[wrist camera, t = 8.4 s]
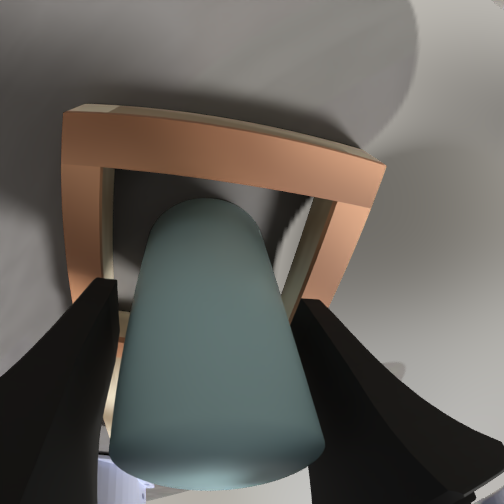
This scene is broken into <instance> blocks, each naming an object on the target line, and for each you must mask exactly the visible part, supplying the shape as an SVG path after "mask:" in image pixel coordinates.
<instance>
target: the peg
mask: <svg viewBox="0 0 504 504" xmlns="http://www.w3.org/2000/svg"><path fill="white" fill-rule="evenodd" d="M324 448H325V440H324V437H323V434H322V430H321V427H320V423H319V420H318V417H317V413H316V410H315V406H314V403H313V400H312V396H311V393H310V390H309V386H308V383H307V380H306V376H305V373H304V370H303V366H302V363H301V360H300V357H299V353H298V350H297V347H296V343H295V340H294V337H293V334H292V330H291V327H290V324H289V321H288V317H287V314H286V311H285V308H284V305H283V301H282V298H281V295H280V292H279V289H278V285H277V282H276V279H275V276H274V272H273V269H272V266H271V263H270V260H269V257H268V253H267V250H266V247H265V244H264V241H263V238H262V235H261V232H260V229H259V227H258V226H257V224H256V222H255V221H254V220H253V218H252V217H251V216H250V215H249V214H248V213H247V212H245V211H244V210H243V209H241V208H240V207H238V206H236V205H234V204H232V203H230V202H227V201H224V200H219V199H213V198H198V199H191V200H188V201H184V202H182V203H179V204H177V205H175V206H173V207H172V208H170V209H168V210H167V211H166V212H165V213H163V214H162V215H161V216H160V217H159V218H158V220H157V221H156V223H155V224H154V226H153V227H152V229H151V232H150V235H149V238H148V241H147V245H146V249H145V253H144V256H143V260H142V264H141V268H140V272H139V277H138V281H137V285H136V289H135V294H134V298H133V303H132V307H131V312H130V316H129V321H128V326H127V331H126V336H125V342H124V347H123V352H122V358H121V364H120V370H119V376H118V382H117V389H116V396H115V403H114V410H113V418H112V427H111V436H110V445H109V456H110V458H111V460H112V462H113V463H114V464H115V465H116V466H117V467H118V468H120V469H121V470H123V471H124V472H126V473H127V474H129V475H131V476H134V477H136V478H138V479H141V480H143V481H147V482H150V483H153V484H157V485H161V486H166V487H171V488H178V489H187V490H229V489H239V488H246V487H252V486H256V485H261V484H265V483H269V482H272V481H276V480H279V479H282V478H285V477H287V476H289V475H292V474H294V473H296V472H298V471H300V470H302V469H304V468H306V467H307V466H309V465H310V464H312V463H313V462H314V461H316V460H317V459H318V458H319V457H320V456H321V454H322V453H323V451H324Z"/></svg>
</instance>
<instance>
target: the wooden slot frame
mask: <svg viewBox="0 0 504 504" xmlns="http://www.w3.org/2000/svg"><path fill="white" fill-rule="evenodd" d="M115 168H117V169H127V170H137V171H146V172H155V173H164V174H172V175H180V176H188V177H195V178H203V179H210V180H217V181H224V182H230V183H237V184H243V185H250V186H256V187H262V188H268V189H274V190H279V191H285V192H291V193H296V194H302V195H307V196H312V197H314V199H313V202H312V205H311V208H310V211H309V214H308V218H307V221H306V224H305V227H304V230H303V233H302V236H301V239H300V242H299V245H298V248H297V251H296V253H295V256H294V259H293V262H292V265H291V268H290V271H289V274H288V277H287V280H286V283H285V285H284V288H283V291H282V294H281V298H282V301H283V305H284V308H285V311H286V314H287V317H288V321H289V324H291V322H292V319H293V317H294V314H295V312H296V309H297V307H298V304H299V302H300V299H301V298H306V299H319V300H321V301H322V302H323V303H324V304H325V305H326V306H327V307H329V305H330V303H331V301H332V299H333V296H334V294H335V292H336V290H337V288H338V286H339V283H340V281H341V279H342V277H343V274H344V272H345V270H346V267H347V265H348V263H349V260H350V258H351V256H352V254H353V251H354V249H355V247H356V244H357V242H358V239H359V237H360V235H361V232H362V230H363V227H364V225H365V222H366V220H367V217H368V214H369V212H370V210H371V207H372V204H373V202H374V199H375V196H376V194H377V191H378V189H379V186H380V183H381V180H382V178H383V175H384V172H385V169H386V165H384V164H383V163H382V162H380V161H378V160H377V159H376V158H374V157H372V156H371V155H370V154H368V153H367V152H365V151H364V150H362V149H358V148H355V147H351V146H348V145H344V144H341V143H337V142H333V141H330V140H326V139H322V138H318V137H314V136H310V135H306V134H302V133H298V132H293V131H289V130H285V129H280V128H275V127H271V126H266V125H261V124H256V123H251V122H245V121H240V120H234V119H229V118H223V117H216V116H210V115H203V114H196V113H189V112H182V111H173V110H165V109H155V108H145V107H134V106H120V105H103V104H83V105H81V106H78V107H76V108H73V109H71V110H68V111H66V112H63V123H62V145H61V193H62V215H63V230H64V241H65V252H66V261H67V269H68V276H69V283H70V290H71V296H72V303H74V302H75V301H76V299H77V298H78V297H79V296H80V295H81V294H82V292H83V291H84V290H85V289H86V288H87V287H88V285H89V284H90V283H91V282H92V281H93V280H94V279H95V278H96V277H99V278H107V279H114V277H113V194H114V174H115ZM129 316H130V312H124V311H119V324H120V334H119V341H118V349H117V355H116V362H115V366H114V370H113V375H112V379H111V383H110V387H109V392H108V396H107V400H106V405H105V409H104V414H103V419H104V422H105V425H106V428H107V431H108V434H109V437H110V436H111V427H112V418H113V410H114V403H115V396H116V389H117V382H118V376H119V370H120V364H121V358H122V352H123V347H124V342H125V336H126V331H127V326H128V321H129Z"/></svg>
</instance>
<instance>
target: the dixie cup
mask: <svg viewBox="0 0 504 504" xmlns="http://www.w3.org/2000/svg"><path fill="white" fill-rule="evenodd" d="M492 1H493V2H494V3H496V4H497V5H498V6H499V7H500V8H502V9H503V10H504V0H492Z"/></svg>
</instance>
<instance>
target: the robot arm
mask: <svg viewBox="0 0 504 504" xmlns="http://www.w3.org/2000/svg"><path fill="white" fill-rule="evenodd" d="M290 327H291V330H292V334H293V337H294V340H295V343H296V347H297V350H298V353H299V357H300V360H301V363H302V366H303V370H304V373H305V376H306V380H307V383H308V386H309V390H310V393H311V396H312V400H313V403H314V406H315V410H316V413H317V417H318V420H319V423H320V427H321V430H322V434H323V437H324V440H325V448H324V451H323V453H322V454H321V456H320V457H319V458H318V459H317V460H316V461H314V462H313V463H312V464H310V465H309V466H308V468H309V476H310V485H311V495H312V504H471V502H473V501H474V500H475V499H476V495H475V493H474V491H476V490H477V489H479V488H480V487H482V486H484V485H485V484H487V483H488V482H490V481H491V480H493V479H494V478H496V477H497V476H499V475H500V474H502V473H503V472H504V445H503V444H502V442H501V441H498V440H496V439H494V438H491V437H489V436H487V435H484V434H482V433H480V432H477V431H475V430H473V429H471V428H469V427H467V426H466V425H464V424H462V423H460V422H458V421H456V420H455V419H453V418H451V417H450V416H448V415H446V414H445V413H443V412H442V411H440V410H439V409H437V408H436V407H434V406H432V405H431V404H430V403H428V402H427V401H425V400H424V399H423V398H421V397H420V396H419V395H417V394H416V393H415V392H414V391H412V390H411V389H410V388H409V387H407V386H406V385H405V384H404V383H402V382H401V381H400V380H399V379H398V378H397V377H395V376H394V375H393V374H392V373H391V372H390V371H389V370H388V369H387V368H386V367H385V366H384V365H383V364H381V363H380V362H379V361H378V360H377V359H376V358H375V357H374V356H373V355H372V354H371V353H370V352H369V351H368V350H367V349H366V348H365V347H364V346H363V345H362V344H361V343H360V342H359V340H358V339H357V338H356V337H355V336H354V335H353V334H352V333H351V332H350V331H349V330H348V329H347V328H346V327H345V326H344V324H343V323H342V322H341V321H340V320H339V319H338V318H337V317H336V316H335V315H334V314H333V313H332V312H331V311H330V310H329V309H328V307H327V306H326V305H325V304H324V303H323V302H322V301H321V300H319V299H306V298H301V299H300V302H299V304H298V307H297V309H296V312H295V314H294V317H293V319H292V322H291V324H290ZM119 334H120V324H119V310H118V291H117V280H114V279H107V278H99V277H96V278H95V279H94V280H93V281H92V282H91V283H90V284H89V285H88V287H87V288H86V289H85V290H84V291H83V292H82V294H81V295H80V296H79V297H78V298H77V299H76V301H75V302H74V303H73V304H72V305H71V306H70V308H69V309H68V310H67V311H66V312H65V313H64V314H63V315H62V316H61V317H60V319H59V320H58V321H57V322H56V323H55V324H54V325H53V326H52V327H51V329H50V330H49V331H48V332H47V333H46V334H45V335H44V336H43V337H42V338H41V339H40V340H39V341H38V342H37V343H36V344H35V345H34V346H33V347H32V348H31V349H30V350H29V351H28V352H27V353H26V354H25V355H24V356H23V357H22V358H21V359H20V360H19V361H18V362H17V363H16V364H15V365H13V366H12V367H11V368H10V369H9V370H8V371H7V372H6V373H5V374H3V375H2V376H1V377H0V504H146V488H154V484H153V483H150V482H147V481H143V480H141V479H138V478H136V477H134V476H131V475H129V474H127V473H126V472H124V471H123V470H121V469H120V468H118V467H117V466H116V465H115V464H114V463H113V462H112V460H111V458H110V456H107V455H98V451H99V437H100V430H101V424H102V419H103V414H104V409H105V405H106V400H107V396H108V392H109V387H110V383H111V379H112V375H113V370H114V366H115V362H116V355H117V349H118V341H119ZM474 504H504V486H503V487H501V488H500V489H499V490H497V491H495V492H494V493H492V494H490V495H489V496H487V497H485V498H483V499H481V500H479V501H477V502H475V503H474Z"/></svg>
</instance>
